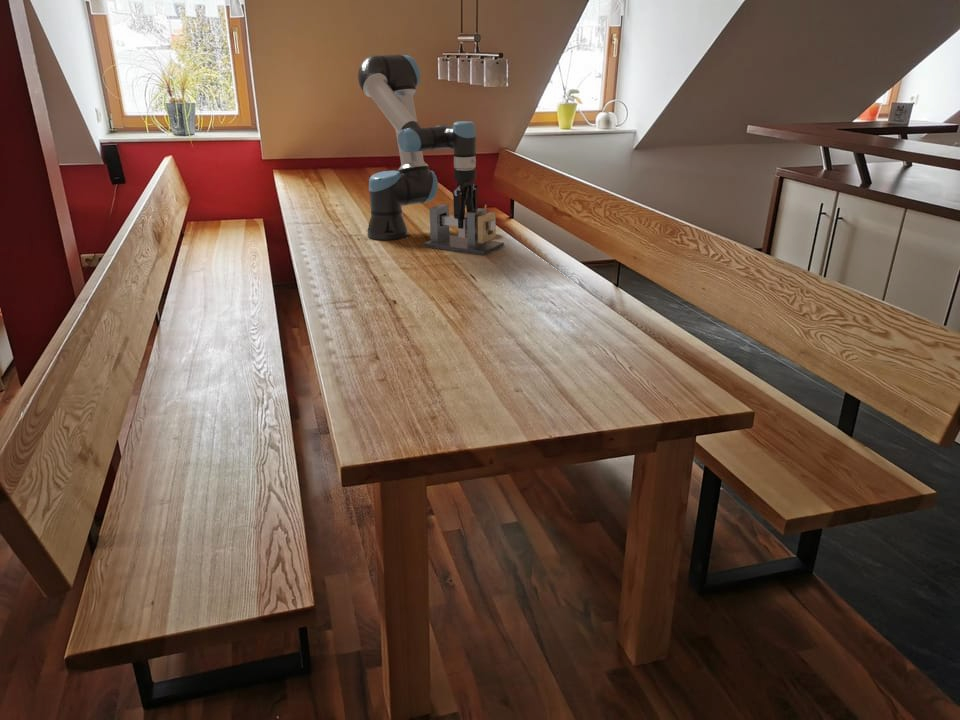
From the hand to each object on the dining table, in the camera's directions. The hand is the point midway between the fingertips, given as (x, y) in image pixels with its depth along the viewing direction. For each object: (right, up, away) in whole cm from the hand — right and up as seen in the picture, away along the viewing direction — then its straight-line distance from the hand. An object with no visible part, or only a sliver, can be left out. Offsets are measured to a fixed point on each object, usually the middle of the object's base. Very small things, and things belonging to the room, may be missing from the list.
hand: (466, 235), depth 267 cm
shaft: (-1, +3, -1) cm, 3 cm away
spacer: (+7, +2, -5) cm, 9 cm away
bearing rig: (-1, -4, +2) cm, 4 cm away
